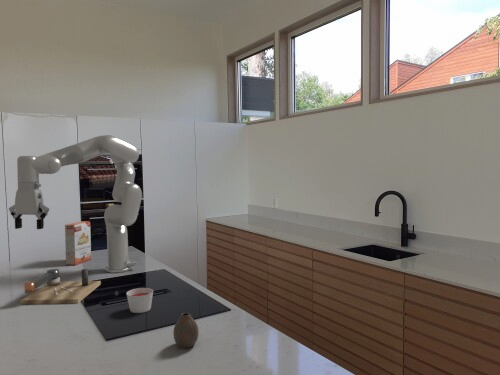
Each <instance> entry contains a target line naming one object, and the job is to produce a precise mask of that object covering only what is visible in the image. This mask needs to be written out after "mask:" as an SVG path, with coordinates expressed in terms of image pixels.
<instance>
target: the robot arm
mask: <svg viewBox="0 0 500 375" xmlns="http://www.w3.org/2000/svg"><path fill="white" fill-rule="evenodd" d="M108 154H109V156H110V157H109V158H110V159H111V161H112V162H113V164H114V165H115V167H116V178H115V181H114V185H113V188H112V189H113V190H112V198H113V200H114V201H115V202H117V203H121V204H112V205H110V206H109V205H108V207H106V209H105V211H104V214H103V215H104V223H105V226H106V227H105V229H106V244H107V245H106V246H107V266H106V267H104V271H105V272H107V273H112V274H113V273H114V274H115V273H124V272H129V271H130V270H132V269H133V267H137V266H138V261H132V260H131V258H129V240H128V239H129V238H128V236H129V235H128V227H130V226H132V225H133V224H135V223H136V221H137V219H138V215H139V211H140V206H141V203H142V198H143V192H142V189H141V187H140V185H138V184H136V183H135V177H136V171H135V170H136V169H135V166H134V163H136V162H137V161H138V160H139V156H140V153H139V150H138V149H137V147H136V146H134V145H133V144H130V143H128V142H126V141H125V140H122V139H120V138H119V137H116V136H114V135H109V134H107V135H98V136H95V137H92V138H91V137H90V138H88V139H86V140H82V141H80V142H78V143H75V144H72V145H71V144H70V145H68V146H65V147H63V148H60V149H56V150H54V151H49V152H48V153H45V154H41V155H39V156H35V155H20V156H18V157H17V165H16V166H17V168H16V169H17V189H16V191H15V198H14V204H13V205H11V206H10V207H8V210H9V212H10V215H11V217H12V218H13V219H14V229H15V230H18V229H22V228H23V218H22V216H23V215H27V216H28V215H29V216H30V215H31V216H35V217H36V218H37V219H36V229H37V230H42V229H44V224H45V223H44V219H45V218H46V217H47V216H48V213H49V211H50V208H49V207H48V206H46V205H45V204H44V203H45V202H44V196H43V192H42V190H41V189H40V188H41V187H42V184H41V183H40V175H45V174H46V175H54V174H56V173H58V172H59V171H60V170H61V168H63V167H65V166H70V165H77V164H81V163H85V162H86V161H89V160H92V159H94V158H97V157H99V156H102V155H108Z"/></svg>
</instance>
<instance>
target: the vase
mask: <svg viewBox="0 0 500 375" xmlns="http://www.w3.org/2000/svg"><path fill="white" fill-rule="evenodd" d="M198 326H199V325H198V323H197V321H196V320H195V319H194V318H193V317H192V315H191V314H190V312H183V313H181V314H180V317H179V318H178V319H177V321H176V322H175V325H174V328H173V332H172V333H173V339H174V342H175V344H176V346H178V347H180V348H182V349H189V348H191V347H193V346H194V345H195V344H196V343H197V341H198V338H199V327H198Z"/></svg>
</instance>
